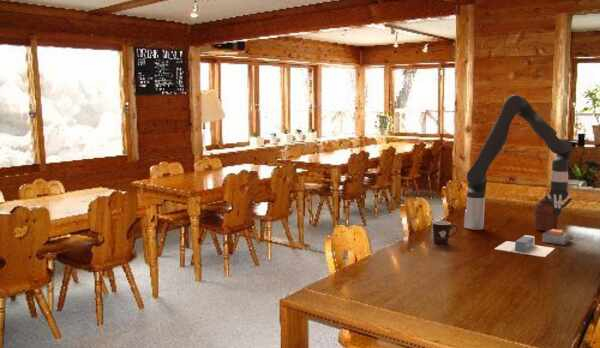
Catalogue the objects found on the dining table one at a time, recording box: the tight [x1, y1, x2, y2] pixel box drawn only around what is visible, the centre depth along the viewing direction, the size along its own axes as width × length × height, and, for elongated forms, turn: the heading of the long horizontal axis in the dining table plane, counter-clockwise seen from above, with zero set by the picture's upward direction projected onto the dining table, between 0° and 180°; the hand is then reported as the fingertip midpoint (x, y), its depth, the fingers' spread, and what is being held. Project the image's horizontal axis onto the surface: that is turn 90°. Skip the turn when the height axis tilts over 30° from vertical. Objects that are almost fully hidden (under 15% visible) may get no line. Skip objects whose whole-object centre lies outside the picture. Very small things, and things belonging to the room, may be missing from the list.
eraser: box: [514, 234, 536, 252], centre depth 254 cm, size 4×15×4 cm, turn 142°
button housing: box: [541, 230, 571, 246], centre depth 268 cm, size 10×10×4 cm
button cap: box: [550, 229, 564, 235], centre depth 268 cm, size 5×5×3 cm
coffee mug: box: [431, 220, 459, 246], centre depth 264 cm, size 12×9×10 cm
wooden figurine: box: [534, 196, 559, 232], centre depth 290 cm, size 12×6×18 cm, turn 54°
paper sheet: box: [494, 240, 556, 258], centre depth 254 cm, size 22×18×1 cm
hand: (557, 215), depth 267 cm, fingers closed
